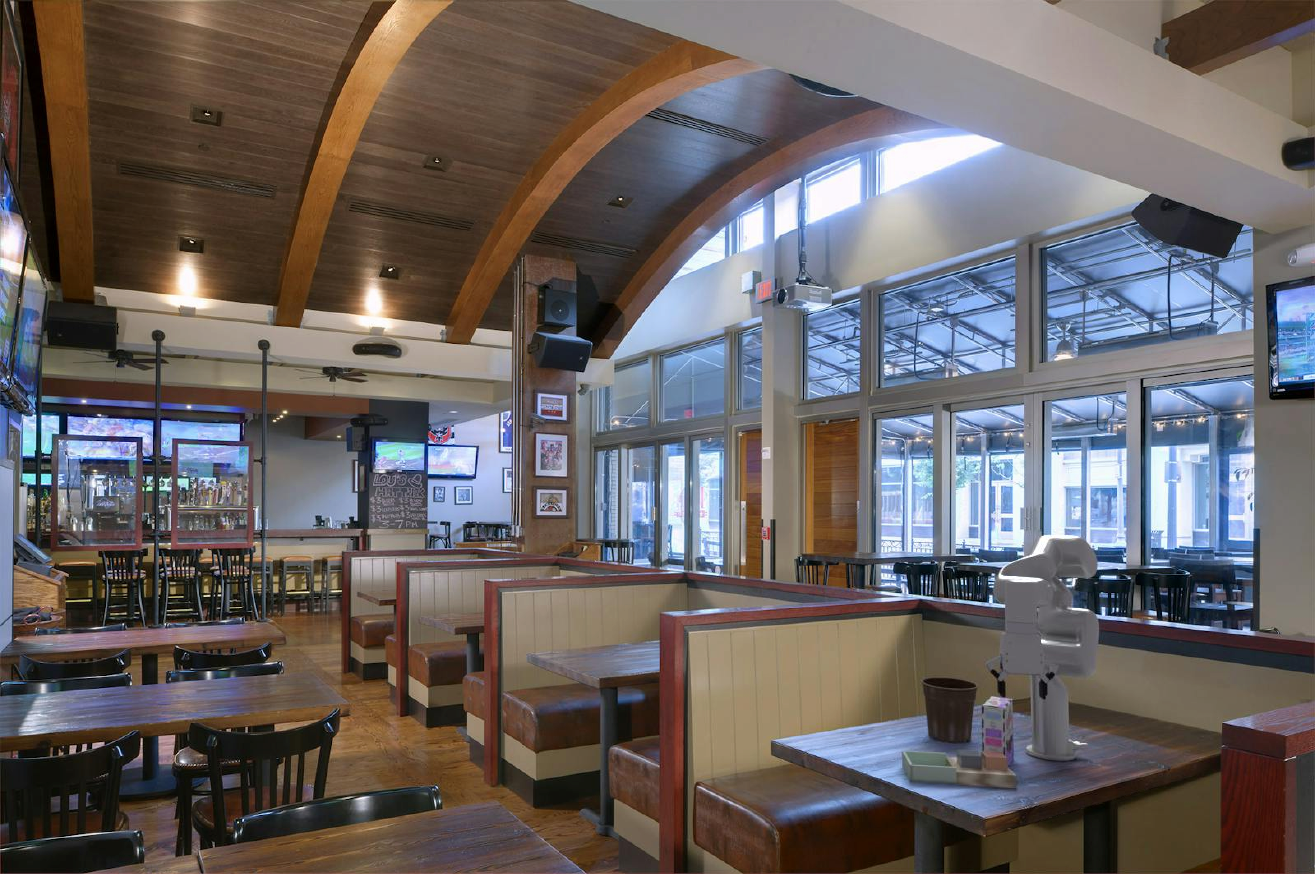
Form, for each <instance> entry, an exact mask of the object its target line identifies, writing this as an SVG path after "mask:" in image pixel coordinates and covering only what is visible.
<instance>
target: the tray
mask: <svg viewBox="0 0 1315 874" xmlns="http://www.w3.org/2000/svg"><path fill="white" fill-rule="evenodd" d="M901 751H902V752H901V759H902V762H901V764H902V765H901V766H902V769H903V770H904V772H905V775H906V776H907V777H908V780H909V782H911V783H922V784H923V783H924V784H938V785H939V784H941V785H955V786H958V785H957V777H956V767H946V757H947V753H946V752H937V751H936V752H935V751H916V750H901Z"/></svg>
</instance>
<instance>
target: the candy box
mask: <svg viewBox="0 0 1315 874" xmlns="http://www.w3.org/2000/svg"><path fill="white" fill-rule="evenodd" d="M1013 704H1014V703H1013V698H1009V697H1008V698H1007V697H1005V698H1004V697H999V696H998V697H997V696H992V695H991V696H990V698H988V699H987V700H986V701H985V702H984V703H982V705H981V740H982V741H981V744H982V745H981V747H982V748H981V749H982V750H981V751H989V752H1002V753H1003V754H1004V755H1005V756H1006V757H1007V766H1008V767H1009V768H1010V765H1011V764H1012V763H1013V761H1014V760H1015V758H1014V757H1015V756H1014V755H1015V754H1014V753H1015V752H1014V751H1015V748H1014V714H1013V713H1014V711H1013V710H1014V709H1013V707H1014V706H1013Z"/></svg>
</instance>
